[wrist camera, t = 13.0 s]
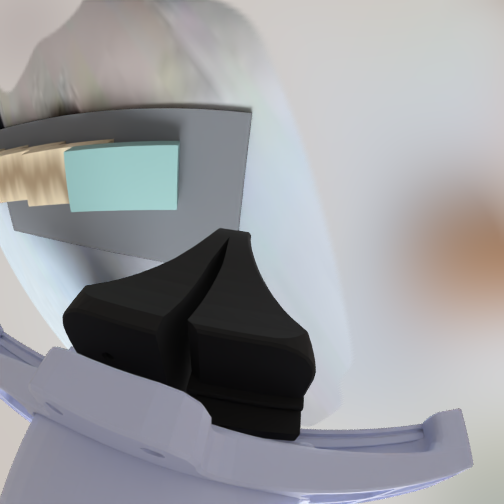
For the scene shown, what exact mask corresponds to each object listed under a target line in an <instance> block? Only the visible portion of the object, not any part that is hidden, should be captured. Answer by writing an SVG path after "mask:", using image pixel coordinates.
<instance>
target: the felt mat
mask: <svg viewBox="0 0 504 504" xmlns="http://www.w3.org/2000/svg"><path fill="white" fill-rule="evenodd" d="M251 118H252V113H247V112H237V111H226V110H212V109H192V108H139V109H120V110H107V111H96V112H87V113H79V114H72V115H65V116H59V117H53V118H47V119H42V120H37V121H32V122H28V123H23V124H19V125H15V126H11V127H7V128H3V129H0V149H4V148H5V150H8V149H12V148H16V147H20V146H25V145H28V147H33V146H38V145H44V144H50V143H56V142H62V141H66V144H69V143H77V142H85V141H95V140H106V139H114V143H118V142H137V141H180V150H179V181H178V206H177V210H117V211H85V212H71V209H70V204H55V205H42V206H30V207H29V205H28V200H20V201H11V202H7V203H8V208H9V212H10V216H11V220H12V224H13V228H14V230H15V231H19V232H23V233H27V234H32V235H36V236H40V237H45V238H49V239H53V240H58V241H62V242H67V243H71V244H76V245H81V246H85V247H90V248H95V249H100V250H104V251H109V252H114V253H119V254H124V255H129V256H134V257H139V258H144V259H149V260H154V261H160V262H165V263H166V262H168V261H170V260H172V259H174V258H176V257H177V256H179V255H181V254H182V253H184V252H186V251H187V250H189V249H191V248H192V247H194V246H195V245H197V244H198V243H199V242H201V241H202V240H204V239H205V238H206V237H208V236H209V235H210V234H212V233H213V232H215V231H216V230H217V229H219V228H224V229H231V230H237V231H239V223H240V213H241V204H242V195H243V186H244V177H245V168H246V159H247V151H248V142H249V134H250V126H251Z"/></svg>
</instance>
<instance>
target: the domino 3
mask: <svg viewBox="0 0 504 504" xmlns="http://www.w3.org/2000/svg"><path fill="white" fill-rule="evenodd" d="M179 150H180V141H137V142H118V143H104V144H92V145H83V146H74V147H71V148H70V149H68V150H66V151H64V162H65V173H66V181H67V189H68V196H69V203H70V209H71V212H85V211H117V210H177V206H178V181H179Z"/></svg>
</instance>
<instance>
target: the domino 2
mask: <svg viewBox="0 0 504 504" xmlns="http://www.w3.org/2000/svg"><path fill="white" fill-rule="evenodd" d="M104 143H114V139H106V140H95V141H85V142H77V143H69V144H62V145H55V146H49V147H43V148H38V149H32V150H29V151H27V152H25V153H24V154H22V155H21V162H22V170H23V177H24V183H25V189H26V195H27V200H28V205H29V207H30V206H42V205H55V204H70V203H69V196H68V189H67V181H66V173H65V162H64V151H66V150H68V149H70V148H71V147H74V146H83V145H92V144H104Z"/></svg>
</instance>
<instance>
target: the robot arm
mask: <svg viewBox="0 0 504 504" xmlns="http://www.w3.org/2000/svg"><path fill="white" fill-rule="evenodd" d="M250 240H251V235H250V233H249V232H243V231H237V230H231V229H224V228H219V229H217V230H216V231H215V232H213V233H212V234H210V235H209V236H208V237H206V238H205V239H204V240H202V241H201V242H199V243H198V244H197V245H195V246H194V247H192V248H191V249H189V250H187V251H186V252H184V253H182V254H181V255H179V256H177V257H176V258H174V259H172V260H170V261H168V262H166V263H164V264H162V265H159V266H157V267H155V268H152V269H149V270H147V271H144V272H141V273H139V274H136V275H133V276H129V277H126V278H122V279H118V280H114V281H110V282H104V283H99V284H93V285H87V286H85V287H84V288H83V289H82V290H81V292H80V293H79V294H78V295H77V297H76V298H75V299H74V300H73V302H72V303H71V304H70V305H69V307H68V308H67V309H66V311H65V312H64V314H63V326H64V328H65V331H66V334H67V335H68V337H69V339H70V341H71V343H72V345H73V347H72V346H71V348H70V349H69V350H68V349H64V348H60V347H53V348H52V349H50V350H49V352H48V353H47V354H46V356H43V355H41V354H39V353H38V352H35V351H34V350H32V349H30V348H29V347H27V346H25V345H24V344H22V343H20V342H19V341H17V340H16V339H14V338H13V337H11V336H9V335H8V334H6V333H5V332H4V331H3V328H2V327H1V325H0V399H2V400H3V401H4V402H5V403H6V404H7V405H9V406H10V407H11V408H12V409H13V410H15V411H16V412H17V413H18V414H20V415H21V416H22V417H24V418H25V419H26V420H28V421H29V422H30V423H31V424H30V426H29V428H28V430H27V432H26V434H25V436H24V438H23V440H22V443H21V445H20V447H19V449H18V452H17V454H16V457H15V459H14V461H13V464H12V466H11V469H10V471H9V474H8V477H7V480H6V482H5V485H4V488H3V491H2V494H1V497H0V504H357V503H363V502H369V501H375V500H380V499H385V498H389V497H394V496H398V495H402V494H406V493H410V492H414V491H417V490H421V489H424V488H428V487H431V486H433V485H435V484H437V483H440V482H442V481H445V480H447V479H449V478H451V477H453V476H455V475H457V474H459V473H461V472H463V471H465V470H467V469H469V468H471V467H472V466H473V459H472V454H471V449H470V444H469V439H468V434H467V430H466V426H465V422H464V418H463V414H462V411H461V409H459V408H458V409H453V410H448V411H442V412H438V413H436V414H434V415H432V416H430V417H429V418H428V419H426V420H425V421H424V422H423V424H417V425H410V426H401V427H391V428H378V429H360V430H316V429H300V422H301V411H302V410H303V406H304V395H305V393H306V392H307V390H308V388H309V387H310V385H311V383H312V381H313V380H314V376H315V373H316V366H315V358H314V353H313V349H312V344H311V341H310V338H309V335H308V332H307V331H306V330H305V329H304V328H302V327H301V326H300V325H299V324H298V323H297V322H296V321H294V320H293V319H292V318H291V317H290V316H289V315H288V314H287V313H286V312H285V311H284V310H283V308H282V307H281V306H280V304H279V303H278V302H277V301H276V299H275V298H274V297H273V295H272V294H271V292H270V291H269V289H268V287H267V286H266V284H265V282H264V280H263V278H262V276H261V274H260V272H259V270H258V267H257V265H256V262H255V259H254V256H253V252H252V248H251V241H250Z"/></svg>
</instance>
